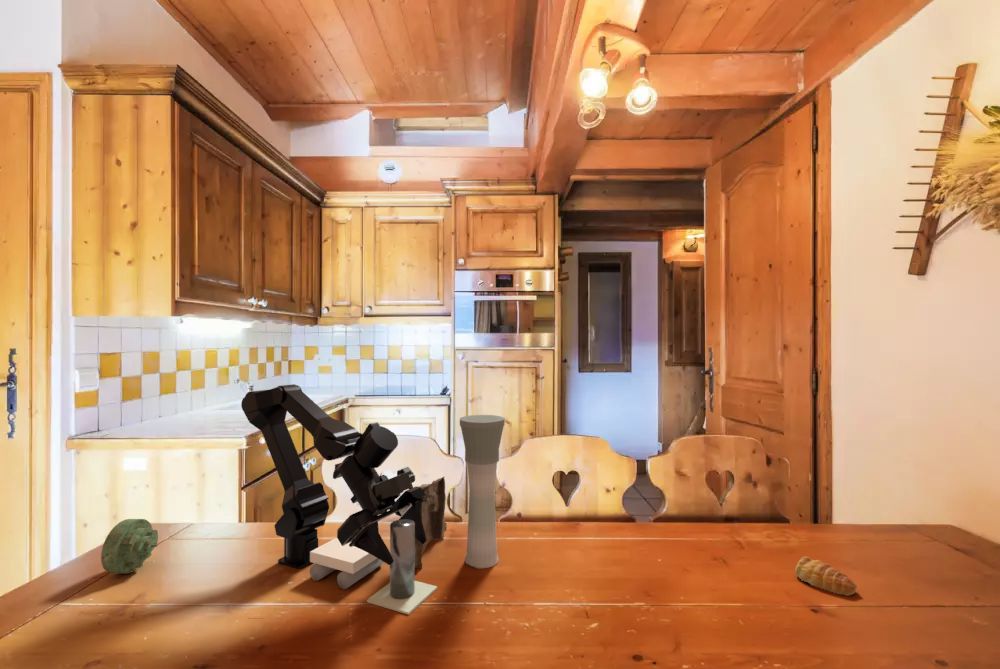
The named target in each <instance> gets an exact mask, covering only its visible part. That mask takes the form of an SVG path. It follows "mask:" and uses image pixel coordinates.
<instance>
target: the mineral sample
mask: <svg viewBox="0 0 1000 669" xmlns="http://www.w3.org/2000/svg"><path fill="white" fill-rule="evenodd" d="M417 487H421V488H422V490H423V491H424V493H425V494H426V496H425V497H424V498H423V499H424V502H423V503H422V504H421V510H420V513H421V519H422V523H423V527H424V531H425V535H426V539H427V541H426V542H425V543H424V544H422V543H421V542H419V541H418V540H417V539H416V538H415V569H416V568H418V569H423V562H422V555H423V553H424V551H425V550H426V548H427V545H428V544H429V542H430V541H432V540H433V539H442V538H443V537H445V533H446V532H447V527H448V526H447V525H448V524H447V522H446V520H445V512H446V510H445V509H446V501H447V497H446V480H445V476H443V477H441V478H437V479H436V480H433V481H432V482H431V483H424V484H423V483H422V484H421V485H420V486H419V485H418V486H417Z"/></svg>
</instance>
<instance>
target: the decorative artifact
mask: <svg viewBox="0 0 1000 669" xmlns="http://www.w3.org/2000/svg"><path fill="white" fill-rule="evenodd" d="M158 533H159V532H158V530H157V529H153V526H152V524H151V522H150V521H148V520H147V519H145V518H128V519H124V520H122V521H119V522H117V524H116V525H114V527H112V529H111V530H110V531H109V533H108V534H107V536H106V538H105V540H104V542H103V545H102V549H101V554H100V562H101V565H102V568H103V570H104V571H105V572H107V573H109V574H129V573H132V572H131V571H133V570H134V571H136V570H137V569H139V568H142V567H143V566H144V562H145V561H146V559H149V558H150V557H151V556H152V551H153V550H154V549H155V548H156V547H158V541H159V534H158ZM136 568H137V569H136ZM135 569H136V570H135ZM134 571H133V572H134Z"/></svg>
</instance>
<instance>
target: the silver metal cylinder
mask: <svg viewBox="0 0 1000 669" xmlns="http://www.w3.org/2000/svg"><path fill="white" fill-rule="evenodd" d="M389 539H390V540H389V548H390V549H389V552H390V553H391V556H392V558H393V560H394V562H393V563H392V564H391V565H389V583H390V596H391V597H392V598H394V599H406V598H409V597H411V596H412V595H413V594H414V592H415V581H416V577H415V575H416V574H415V573H416V572H415V571H416V570H415V569H416V567H415V522H414V521H412V520H408V519H401V520H399V519H397V520H394V521H392V522H390V525H389Z"/></svg>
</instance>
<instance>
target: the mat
mask: <svg viewBox="0 0 1000 669" xmlns="http://www.w3.org/2000/svg"><path fill="white" fill-rule="evenodd" d="M436 590H438V586H437V585H432V584H429V583H427V582H426V583H425V582H421V581H418V580H415V592H414V594H413V595H412V596H411V597H409V598H406V599H394V598H392V597H391V596H390V582H388V583H387V584H386V585H384V587H382V588H380V589H379V590H378V591H377V592H375V593H374V594H373V595H371V596H370V597H369V598H368V599H366V602H367V603H369V604H372V605H374V606H375V605H376V606H379V607H382V608H385V609H389V610H392V611H395V612H398V613H401V614H405V615H408V616H409V615H410V614H412V612H414V611H415V610H416V609H417V608H418V607H419V606H421V604H422V603H424V602H425V601H426V599H428V598H429V597H431V595H432V594H434V592H436Z"/></svg>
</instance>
